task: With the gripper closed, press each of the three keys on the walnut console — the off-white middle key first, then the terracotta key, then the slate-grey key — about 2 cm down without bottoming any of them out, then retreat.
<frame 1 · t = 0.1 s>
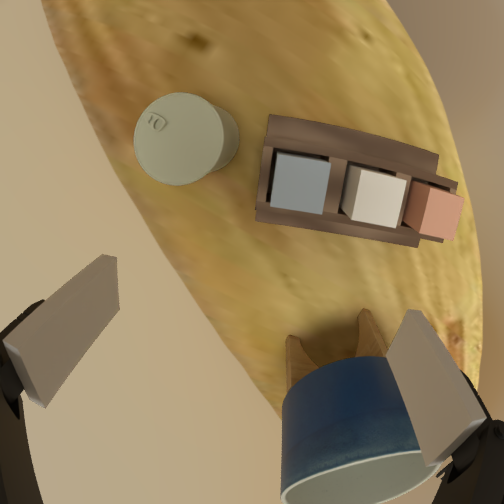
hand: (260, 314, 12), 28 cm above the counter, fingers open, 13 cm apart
key slate: (297, 180, 29), point 8 cm above the counter, slide at 0.0 cm
key terracotta: (429, 207, 29), point 8 cm above the counter, slide at 0.0 cm
key white: (369, 193, 29), point 8 cm above the counter, slide at 0.0 cm
can: (204, 138, 36), on the counter
planter: (337, 351, 47), on the counter
console: (352, 182, 36), on the counter
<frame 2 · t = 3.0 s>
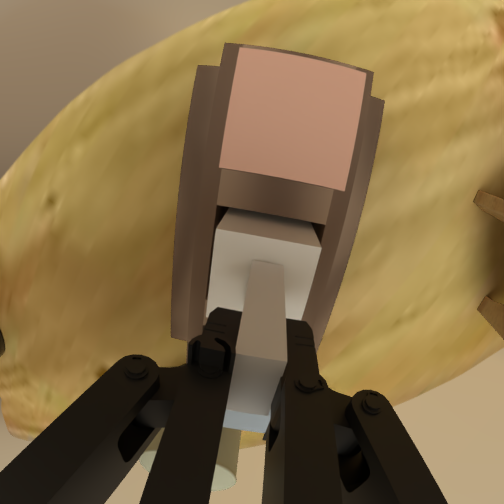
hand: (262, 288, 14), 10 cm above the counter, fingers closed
key slate: (240, 372, 19), point 8 cm above the counter, slide at 0.0 cm
key terracotta: (289, 121, 13), point 8 cm above the counter, slide at 0.0 cm
key white: (262, 259, 17), point 6 cm above the counter, slide at 1.5 cm, touching gripper
can: (207, 389, 31), on the counter
console: (265, 228, 23), on the counter
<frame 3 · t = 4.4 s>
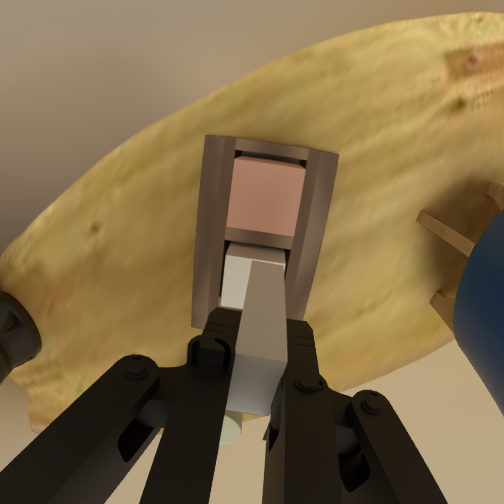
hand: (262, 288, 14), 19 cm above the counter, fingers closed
key terracotta: (266, 190, 24), point 8 cm above the counter, slide at 0.0 cm
key white: (253, 270, 28), point 6 cm above the counter, slide at 1.8 cm
can: (218, 368, 41), on the counter
planter: (464, 244, 32), on the counter
console: (257, 248, 34), on the counter
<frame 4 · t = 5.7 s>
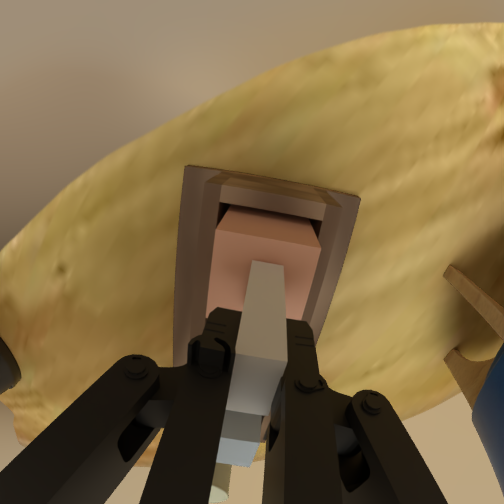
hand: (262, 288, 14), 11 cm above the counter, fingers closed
key slate: (229, 423, 23), point 8 cm above the counter, slide at 0.0 cm
key terracotta: (262, 260, 17), point 7 cm above the counter, slide at 0.6 cm, touching gripper
can: (205, 419, 35), on the counter
planter: (490, 298, 25), on the counter
console: (249, 307, 27), on the counter
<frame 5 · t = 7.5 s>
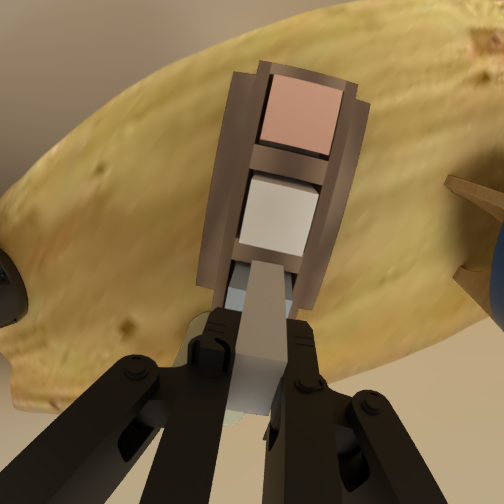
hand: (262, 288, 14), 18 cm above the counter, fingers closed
key slate: (257, 299, 26), point 8 cm above the counter, slide at 0.0 cm
key terracotta: (299, 117, 22), point 6 cm above the counter, slide at 1.8 cm
key white: (278, 209, 25), point 6 cm above the counter, slide at 1.8 cm
can: (220, 338, 38), on the counter
planter: (489, 218, 28), on the counter
console: (278, 196, 30), on the counter
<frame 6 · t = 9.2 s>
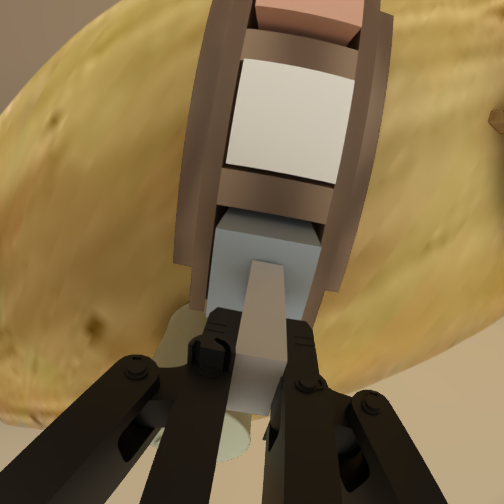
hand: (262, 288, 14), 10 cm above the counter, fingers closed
key slate: (262, 259, 17), point 6 cm above the counter, slide at 1.5 cm
key terracotta: (308, 2, 12), point 6 cm above the counter, slide at 1.8 cm
key white: (287, 123, 15), point 6 cm above the counter, slide at 1.8 cm
can: (213, 338, 28), on the counter
console: (283, 127, 20), on the counter
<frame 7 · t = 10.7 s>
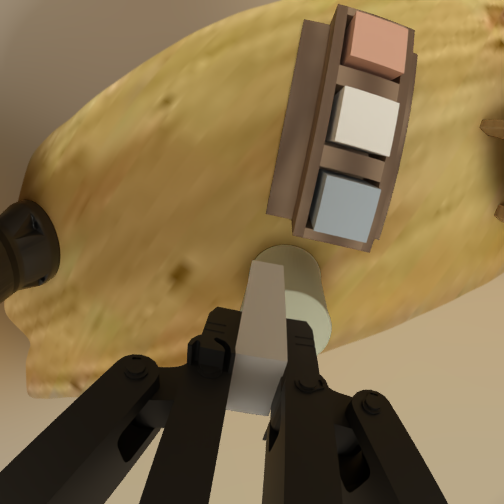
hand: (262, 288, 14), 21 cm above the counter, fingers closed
key slate: (341, 202, 27), point 6 cm above the counter, slide at 1.8 cm
key terracotta: (371, 50, 21), point 6 cm above the counter, slide at 1.8 cm
key white: (359, 123, 24), point 6 cm above the counter, slide at 1.8 cm
can: (284, 277, 37), on the counter
console: (346, 126, 30), on the counter
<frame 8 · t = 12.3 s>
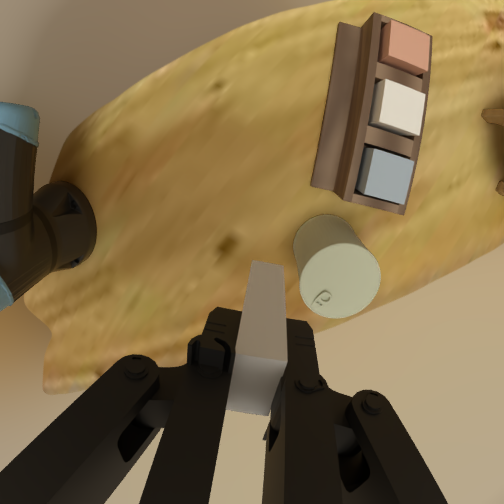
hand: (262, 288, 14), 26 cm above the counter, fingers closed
key slate: (380, 173, 31), point 6 cm above the counter, slide at 1.8 cm
key terracotta: (399, 51, 25), point 6 cm above the counter, slide at 1.8 cm
key white: (392, 109, 28), point 6 cm above the counter, slide at 1.8 cm
can: (325, 245, 41), on the counter
console: (376, 113, 33), on the counter
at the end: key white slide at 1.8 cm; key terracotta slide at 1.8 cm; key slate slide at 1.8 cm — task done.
